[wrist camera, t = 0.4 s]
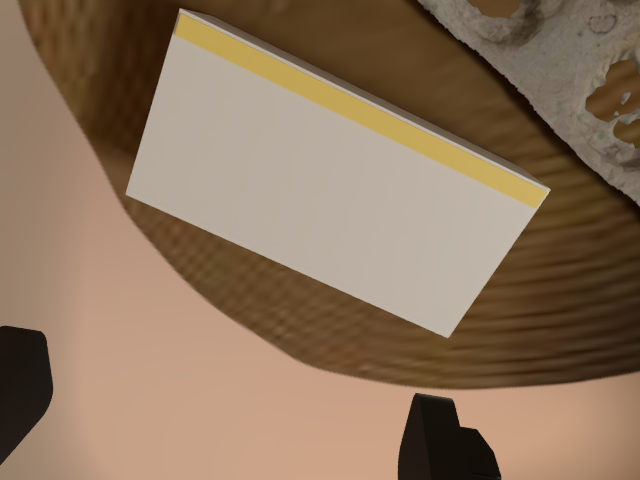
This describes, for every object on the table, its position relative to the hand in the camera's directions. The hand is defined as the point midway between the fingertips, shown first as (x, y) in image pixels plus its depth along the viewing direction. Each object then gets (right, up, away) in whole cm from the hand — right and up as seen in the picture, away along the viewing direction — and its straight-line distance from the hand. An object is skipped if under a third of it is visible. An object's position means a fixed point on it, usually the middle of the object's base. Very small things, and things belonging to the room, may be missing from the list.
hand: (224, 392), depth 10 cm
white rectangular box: (+3, +9, +25) cm, 26 cm away
